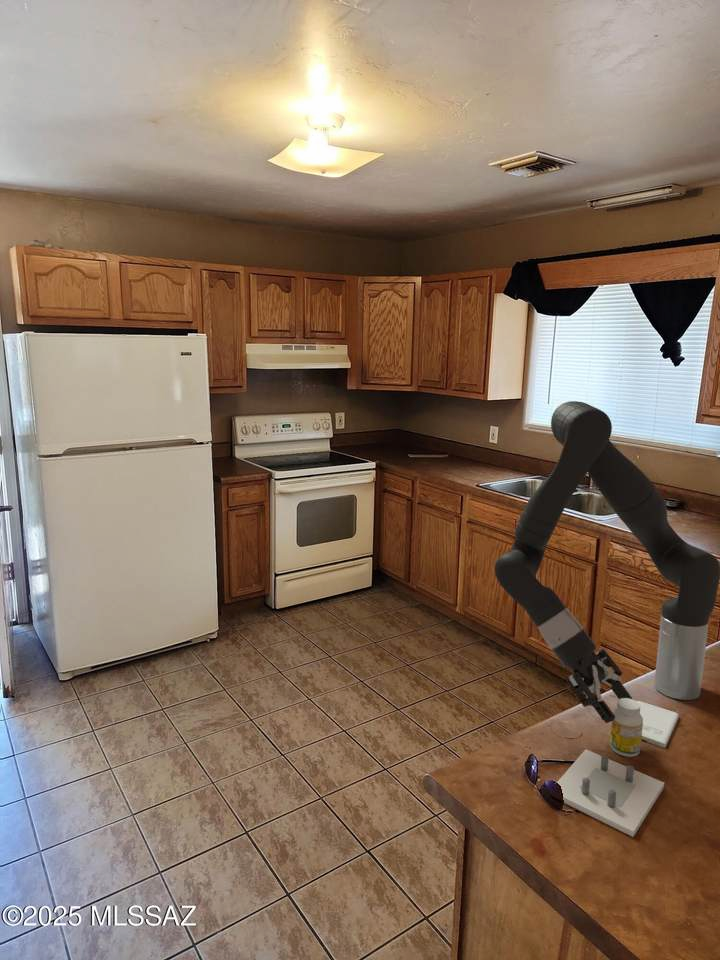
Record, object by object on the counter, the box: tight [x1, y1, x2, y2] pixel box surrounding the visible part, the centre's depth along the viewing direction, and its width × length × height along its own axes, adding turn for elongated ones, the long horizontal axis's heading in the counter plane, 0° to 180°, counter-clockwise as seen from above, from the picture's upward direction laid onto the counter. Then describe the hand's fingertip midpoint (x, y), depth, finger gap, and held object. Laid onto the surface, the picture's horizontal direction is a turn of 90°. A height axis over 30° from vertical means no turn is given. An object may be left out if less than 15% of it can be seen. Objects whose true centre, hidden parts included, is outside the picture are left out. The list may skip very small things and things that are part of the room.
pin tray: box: [556, 749, 665, 838], centre depth 108 cm, size 15×14×4 cm
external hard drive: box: [637, 700, 680, 749], centre depth 127 cm, size 2×8×12 cm
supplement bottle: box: [609, 698, 643, 758], centre depth 119 cm, size 5×5×10 cm
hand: (619, 711), depth 119 cm, fingers open, 8 cm apart
